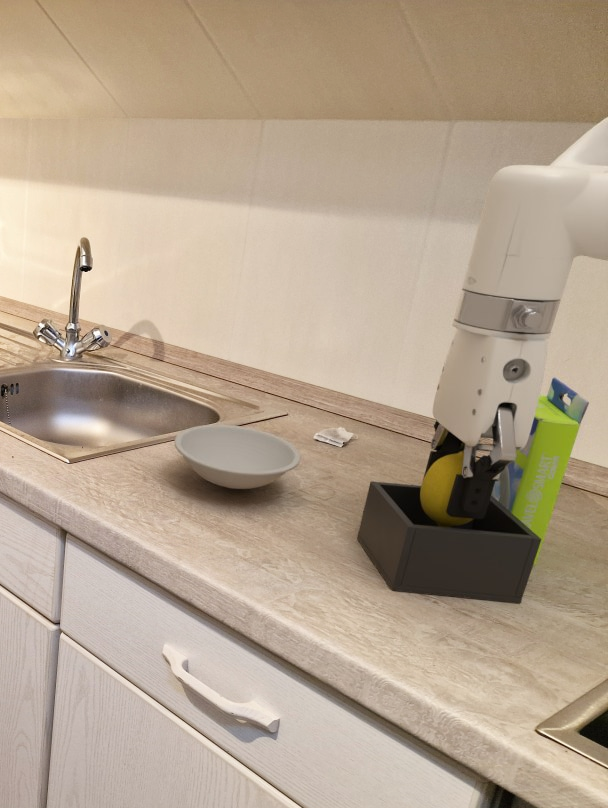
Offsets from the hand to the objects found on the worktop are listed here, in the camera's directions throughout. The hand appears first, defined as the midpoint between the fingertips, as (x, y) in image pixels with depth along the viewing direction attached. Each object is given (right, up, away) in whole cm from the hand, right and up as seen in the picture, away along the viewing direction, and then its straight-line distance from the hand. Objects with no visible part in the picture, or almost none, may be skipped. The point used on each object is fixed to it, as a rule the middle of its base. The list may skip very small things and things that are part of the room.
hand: (451, 501), depth 81 cm
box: (+11, -5, +9) cm, 15 cm away
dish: (-15, +1, +21) cm, 26 cm away
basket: (0, -7, +3) cm, 7 cm away
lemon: (0, -3, +1) cm, 3 cm away
